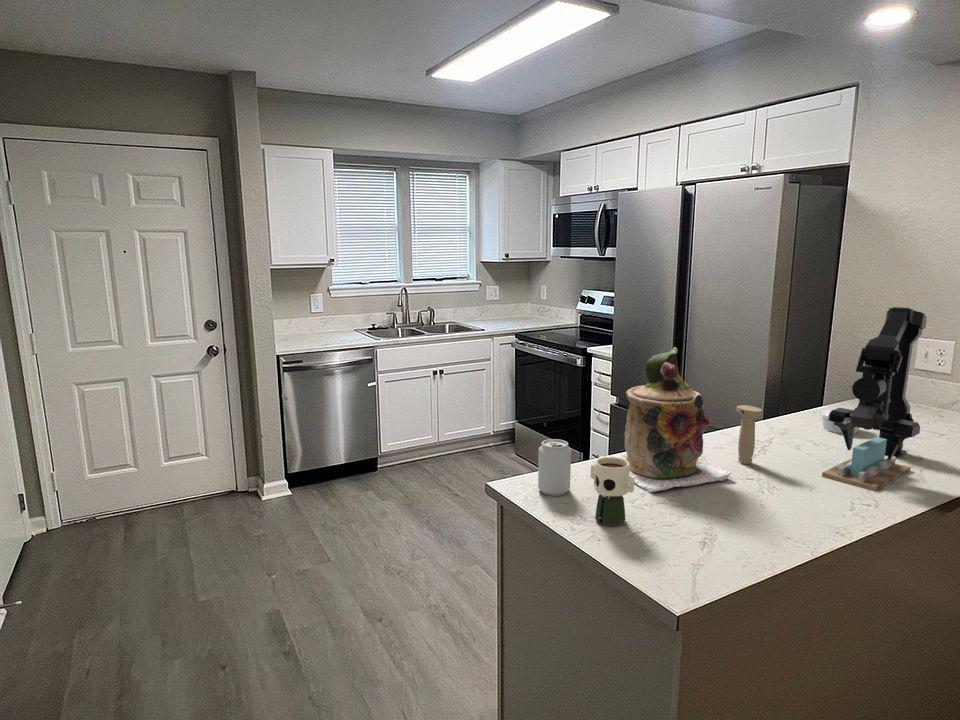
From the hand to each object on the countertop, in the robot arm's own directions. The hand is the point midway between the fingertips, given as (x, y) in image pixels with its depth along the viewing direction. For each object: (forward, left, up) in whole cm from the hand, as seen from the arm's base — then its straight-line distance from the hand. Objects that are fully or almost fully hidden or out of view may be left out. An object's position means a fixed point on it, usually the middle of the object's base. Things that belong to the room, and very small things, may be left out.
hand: (868, 454), depth 154 cm
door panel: (0, 0, -4) cm, 4 cm away
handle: (+17, -23, -5) cm, 29 cm away
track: (0, 0, -5) cm, 5 cm away
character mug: (+73, -21, -5) cm, 76 cm away
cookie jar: (+40, -33, -5) cm, 52 cm away
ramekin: (-35, -21, -5) cm, 41 cm away
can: (+71, -40, -5) cm, 82 cm away
